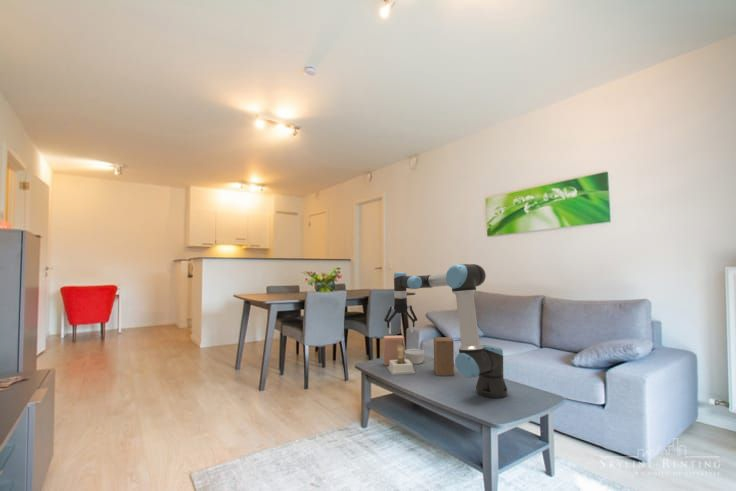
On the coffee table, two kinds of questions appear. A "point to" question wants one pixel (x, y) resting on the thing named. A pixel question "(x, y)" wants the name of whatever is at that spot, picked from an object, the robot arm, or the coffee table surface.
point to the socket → (400, 367)
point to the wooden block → (443, 356)
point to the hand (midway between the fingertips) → (400, 333)
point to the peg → (400, 354)
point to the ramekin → (414, 355)
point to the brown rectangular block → (391, 347)
